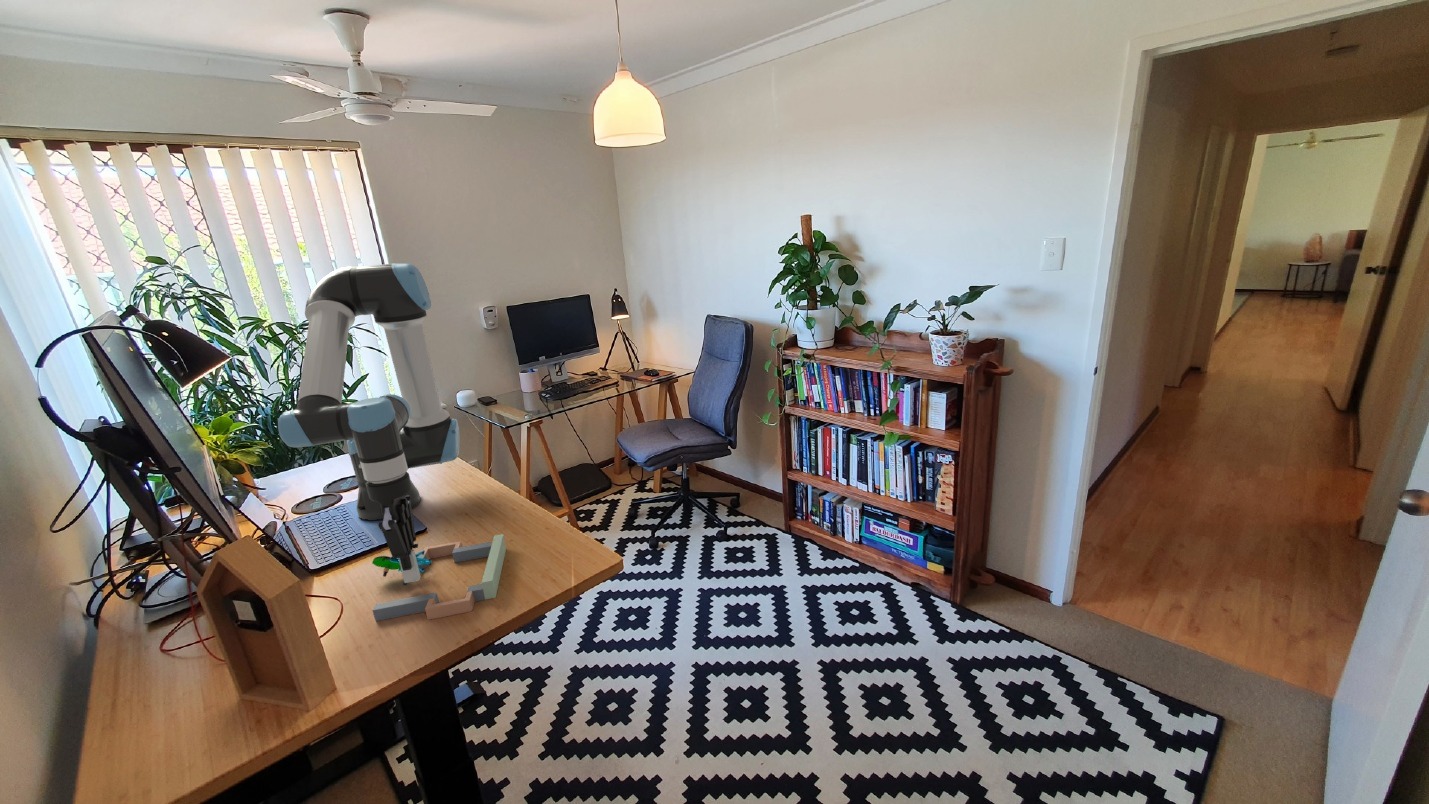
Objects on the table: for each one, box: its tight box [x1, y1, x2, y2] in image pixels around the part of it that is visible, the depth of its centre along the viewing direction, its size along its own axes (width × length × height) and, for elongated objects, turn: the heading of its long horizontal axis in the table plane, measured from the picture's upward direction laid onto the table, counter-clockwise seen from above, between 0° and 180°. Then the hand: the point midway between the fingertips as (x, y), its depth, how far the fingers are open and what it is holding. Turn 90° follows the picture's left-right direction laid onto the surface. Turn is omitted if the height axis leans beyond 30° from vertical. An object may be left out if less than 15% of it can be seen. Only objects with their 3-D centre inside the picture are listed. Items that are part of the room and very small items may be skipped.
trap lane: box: [372, 533, 507, 622], centre depth 115 cm, size 25×22×4 cm
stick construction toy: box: [371, 550, 433, 586], centre depth 116 cm, size 12×7×8 cm, turn 97°
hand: (412, 579), depth 113 cm, fingers closed
